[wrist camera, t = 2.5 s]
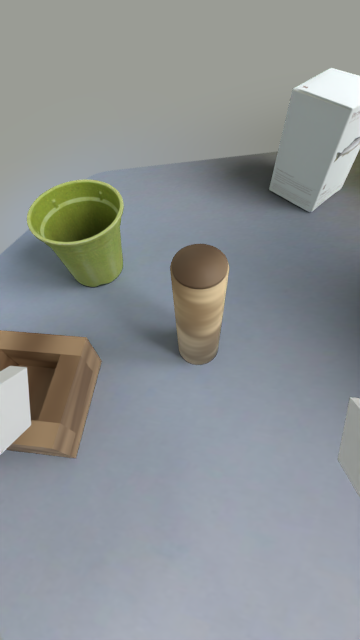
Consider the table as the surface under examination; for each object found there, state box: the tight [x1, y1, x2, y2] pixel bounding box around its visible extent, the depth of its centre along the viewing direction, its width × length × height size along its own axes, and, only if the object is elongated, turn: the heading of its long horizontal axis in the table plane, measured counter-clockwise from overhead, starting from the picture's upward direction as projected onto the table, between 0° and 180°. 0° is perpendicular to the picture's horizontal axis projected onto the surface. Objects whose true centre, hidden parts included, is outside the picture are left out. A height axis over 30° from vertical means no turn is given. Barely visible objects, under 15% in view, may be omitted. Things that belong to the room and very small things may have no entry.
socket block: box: [0, 330, 102, 458], centre depth 27 cm, size 9×9×5 cm
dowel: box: [170, 244, 229, 365], centre depth 26 cm, size 4×4×12 cm
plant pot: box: [27, 180, 124, 287], centre depth 33 cm, size 9×9×9 cm
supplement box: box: [269, 68, 360, 212], centre depth 38 cm, size 7×7×13 cm
